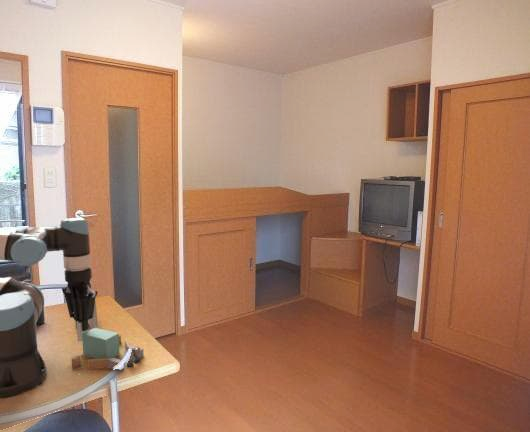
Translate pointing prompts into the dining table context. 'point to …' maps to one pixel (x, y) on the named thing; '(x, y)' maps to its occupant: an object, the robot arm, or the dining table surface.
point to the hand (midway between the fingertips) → (82, 339)
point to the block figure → (103, 359)
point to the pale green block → (100, 343)
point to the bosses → (136, 357)
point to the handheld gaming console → (93, 319)
